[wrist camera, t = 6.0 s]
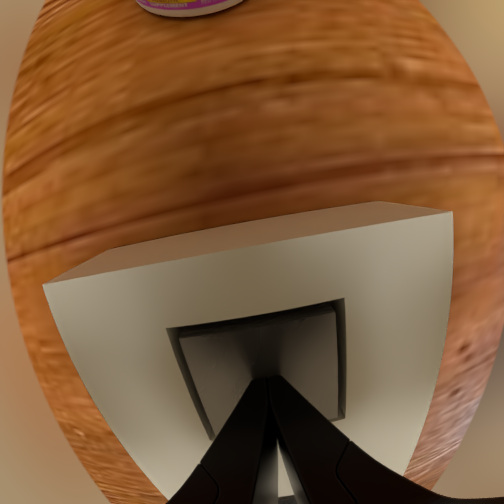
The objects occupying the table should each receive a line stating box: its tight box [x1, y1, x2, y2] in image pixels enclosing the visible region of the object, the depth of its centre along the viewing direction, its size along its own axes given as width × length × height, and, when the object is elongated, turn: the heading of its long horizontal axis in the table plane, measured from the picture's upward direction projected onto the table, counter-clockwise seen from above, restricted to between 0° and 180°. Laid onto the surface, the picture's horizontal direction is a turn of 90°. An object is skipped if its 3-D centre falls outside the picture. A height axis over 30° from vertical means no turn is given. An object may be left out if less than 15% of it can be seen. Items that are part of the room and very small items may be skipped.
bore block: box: [42, 201, 453, 500], centre depth 11 cm, size 18×12×5 cm, turn 10°
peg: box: [179, 301, 338, 436], centre depth 10 cm, size 4×4×5 cm
